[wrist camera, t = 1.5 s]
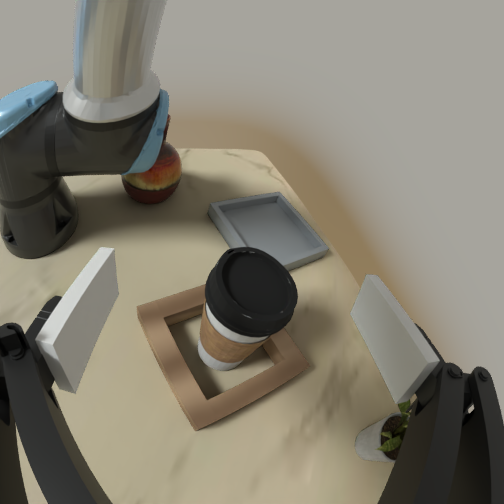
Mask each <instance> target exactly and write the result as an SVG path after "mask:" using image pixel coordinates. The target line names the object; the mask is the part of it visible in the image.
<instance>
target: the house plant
mask: <svg viewBox="0 0 504 504" xmlns="http://www.w3.org/2000/svg"><path fill="white" fill-rule="evenodd" d="M398 406H399V409H400V411H401V412H396V413H393V414H391V415H389V416H387V417H385V418H384V419H382V420H380V421H378V422H377V423H375V424H373V425H371V426H369V427H367V428H365V429H364V430H362V431H361V432H360V433H359V434H358V436H357V438H356V441H355V450H356V452H357V454H358V456H359V457H360V458H362V459H364V460H370V461H381V462H395V461H396V459H397V456H398V453H399V450H400V447H401V444H402V441H403V438H404V435H405V432H406V429H407V425H408V422H409V418H410V417H409V416H408V415H410V413H411V412H408V413H405V412H406V410H407V409H408V408H409V407H410V399H409V400H408V401H407V402H402V403H398Z"/></svg>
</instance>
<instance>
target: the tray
mask: <svg viewBox="0 0 504 504" xmlns="http://www.w3.org/2000/svg"><path fill="white" fill-rule="evenodd" d="M208 215H209V217H210V218H211V220H212V221H213V223H214V224H215V226H216V227H217V229H218V230H219V232H220V233H221V235H222V236H223V238H224V239H225V241H226V242H227V244H228V245H229V247H230V248H231V249H232V248H237V247H253V248H257V249H260V250H262V251H264V252H266V253H268V254H269V255H271V256H272V257H274V258H275V259H276V260H278V261H279V262H280V263H281V264H282V265H283V266H284V267H285V268H286V270H287V271H289V270H292V269H294V268H297V267H299V266H302V265H305V264H307V263H310V262H312V261H315V260H317V259H320V258H322V257H323V256H324V255H325V254H326V252H327V251H328V250H329V248H328V246H327V245H326V244H325V243H324V242H323V240H322V239H321V238H320V237H319V236H318V235H317V233H316V232H315V231H314V230H313V229H312V228H311V227H310V225H309V224H308V223H307V222H306V221H305V220H304V218H303V217H302V216H301V215H300V214H299V213H298V212H297V211H296V209H295V208H294V207H293V206H292V205H291V204H290V203H289V202H288V201H287V199H286V198H285V197H284V196H283V195H282V194H281V193H280V192H275V193H268V194H261V195H255V196H249V197H243V198H237V199H231V200H225V201H219V202H214V203H210V206H209V210H208Z"/></svg>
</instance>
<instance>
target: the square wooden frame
mask: <svg viewBox="0 0 504 504" xmlns="http://www.w3.org/2000/svg"><path fill="white" fill-rule="evenodd" d="M205 285H206V284H205ZM205 285H202V286H199V287H196V288H193V289H190V290H186V291H183V292H180V293H177V294H174V295H171V296H168V297H165V298H162V299H159V300H156V301H153V302H149V303H146V304H143V305H140V306H137V314H138V319H139V321H140V324H141V326H142V328H143V331H144V333H145V335H146V338H147V340H148V342H149V344H150V347H151V349H152V351H153V353H154V355H155V357H156V359H157V362H158V364H159V366H160V368H161V370H162V372H163V374H164V376H165V378H166V380H167V382H168V384H169V386H170V387H171V389H172V391H173V393H174V395H175V397H176V399H177V400H178V402H179V404H180V406H181V408H182V409H183V411H184V413H185V415H186V416H187V418H188V420H189V422H190V423H191V425H192V427H193V428H194V430H195V431H197V430H199V429H201V428H203V427H205V426H207V425H209V424H211V423H213V422H216V421H218V420H220V419H222V418H223V417H225V416H227V415H229V414H231V413H233V412H235V411H237V410H239V409H241V408H242V407H244V406H246V405H248V404H250V403H252V402H253V401H255V400H257V399H259V398H260V397H262V396H264V395H266V394H267V393H269V392H271V391H272V390H274V389H276V388H277V387H279V386H281V385H282V384H284V383H285V382H287V381H289V380H290V379H292V378H293V377H295V376H296V375H298V374H300V373H301V372H303V371H304V370H306V369H307V368H308V367H310V365H309V363H308V362H307V360H306V359H305V357H304V356H303V355H302V353H301V352H300V350H299V349H298V347H297V346H296V344H295V343H294V342H293V340H292V339H291V337H290V336H289V334H288V333H287V331H286V330H285V328H283V329H282V330H280V331H279V332H277V333H275V334H273V335H272V336H271V337H270V338H269V339H268V340H267V341H266V342H265V343H263V344H262V346H263V347H264V349H265V350H266V352H267V353H268V355H269V356H270V358H271V359H272V361H273V362H274V364H275V365H274V366H273V367H271V368H269V369H267V370H265V371H264V372H262V373H260V374H258V375H256V376H254V377H253V378H251V379H249V380H247V381H245V382H243V383H241V384H239V385H237V386H235V387H233V388H231V389H229V390H227V391H225V392H223V393H221V394H219V395H217V396H215V397H213V398H211V399H209V400H206V398H205V396H204V395H203V393H202V391H201V389H200V388H199V386H198V384H197V382H196V381H195V379H194V377H193V375H192V373H191V372H190V370H189V368H188V366H187V364H186V362H185V360H184V359H183V357H182V355H181V353H180V351H179V349H178V347H177V345H176V343H175V341H174V339H173V337H172V335H171V333H170V331H169V329H168V327H167V326H170V325H173V324H175V323H178V322H181V321H184V320H186V319H189V318H192V317H195V316H197V315H200V314H203V307H204V301H205Z"/></svg>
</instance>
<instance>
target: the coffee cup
mask: <svg viewBox="0 0 504 504" xmlns="http://www.w3.org/2000/svg"><path fill="white" fill-rule="evenodd" d="M297 299H298V294H297V288H296V285H295V282H294V280H293V278H292V277H291V275H290V274H289V272H288V271H287V270H286V268H285V267H284V266H283V265H282V264H281V263H280V262H279V261H278V260H276V259H275V258H274V257H272V256H271V255H269V254H268V253H266V252H264V251H262V250H260V249H257V248H253V247H237V248H232V249H229V250H227V251H226V252H225V253H224V254H223V255H222V256H221V258H220V259H219V260H218V262H217V264H216V266H215V267H214V268H213V269H212V270H211V272H210V274H209V276H208V279H207V281H206V285H205V301H204V307H203V314H202V321H201V328H200V336H199V342H198V352H199V355H200V358H201V359H202V361H203V362H204V363H205V364H206V365H207V366H209V367H211V368H213V369H215V370H220V371H226V370H230V369H233V368H234V367H236V366H237V365H239V364H240V363H241V362H242V361H243V360H244V359H245V358H247V357H248V356H249V355H250V354H252V353H253V352H254V351H255V350H256V349H258V348H259V347H260V346H261V345H262V344H263V343H265V342H266V341H267V340H268V339H269V338H270V337H271V336H272V335H273V334H275V333H277V332H279V331H280V330H282V329H283V328H284V327H285V326H286V325H287V323H288V322H289V321H290V320H291V317H292V315H293V312H294V308H295V306H296V304H297Z"/></svg>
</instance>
